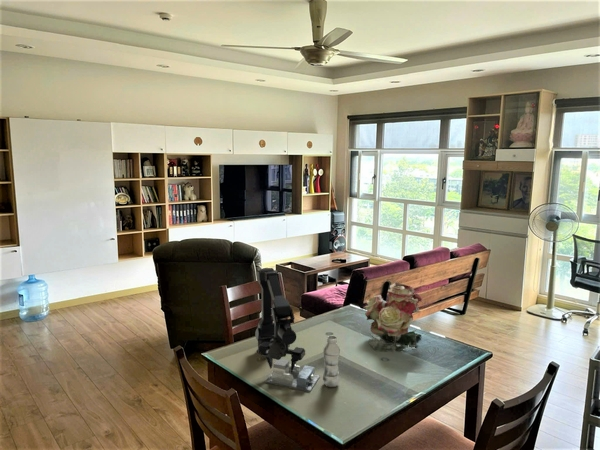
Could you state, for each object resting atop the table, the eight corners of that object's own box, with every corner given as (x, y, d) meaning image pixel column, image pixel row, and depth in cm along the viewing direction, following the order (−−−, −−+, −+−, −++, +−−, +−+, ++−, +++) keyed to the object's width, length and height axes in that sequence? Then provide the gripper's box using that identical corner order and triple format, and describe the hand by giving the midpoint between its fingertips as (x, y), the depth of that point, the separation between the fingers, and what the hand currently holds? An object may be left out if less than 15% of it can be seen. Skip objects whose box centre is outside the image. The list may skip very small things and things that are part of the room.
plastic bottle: (334, 391, 169) (335, 342, 166) (319, 386, 173) (320, 338, 170) (342, 383, 175) (343, 336, 172) (327, 379, 178) (328, 332, 175)
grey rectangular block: (273, 377, 178) (273, 363, 177) (278, 371, 182) (278, 358, 181) (284, 379, 176) (284, 366, 175) (289, 374, 180) (289, 360, 179)
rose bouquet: (363, 329, 228) (365, 274, 223) (421, 334, 223) (424, 277, 218) (360, 351, 203) (362, 289, 198) (425, 357, 198) (429, 294, 193)
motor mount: (265, 382, 175) (265, 372, 174) (277, 368, 186) (277, 358, 185) (310, 392, 169) (310, 381, 168) (319, 377, 180) (319, 366, 179)
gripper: (251, 338, 172) (252, 375, 174) (296, 346, 165) (295, 384, 168) (263, 327, 182) (263, 362, 185) (306, 334, 176) (305, 370, 178)
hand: (281, 370), depth 179 cm, fingers open, 9 cm apart
